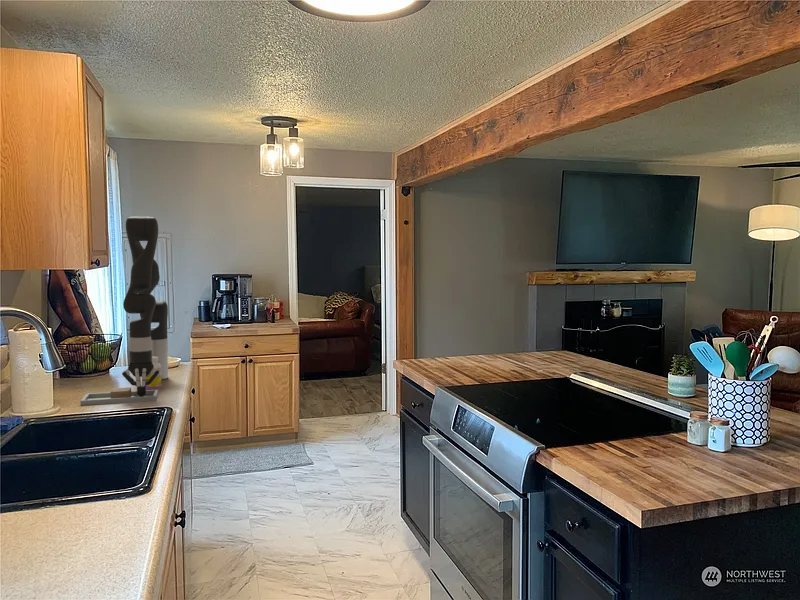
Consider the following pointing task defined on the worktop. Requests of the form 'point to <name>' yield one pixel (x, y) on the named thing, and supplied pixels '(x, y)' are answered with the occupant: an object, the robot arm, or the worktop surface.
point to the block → (121, 392)
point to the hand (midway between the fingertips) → (141, 396)
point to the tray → (106, 398)
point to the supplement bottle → (157, 381)
